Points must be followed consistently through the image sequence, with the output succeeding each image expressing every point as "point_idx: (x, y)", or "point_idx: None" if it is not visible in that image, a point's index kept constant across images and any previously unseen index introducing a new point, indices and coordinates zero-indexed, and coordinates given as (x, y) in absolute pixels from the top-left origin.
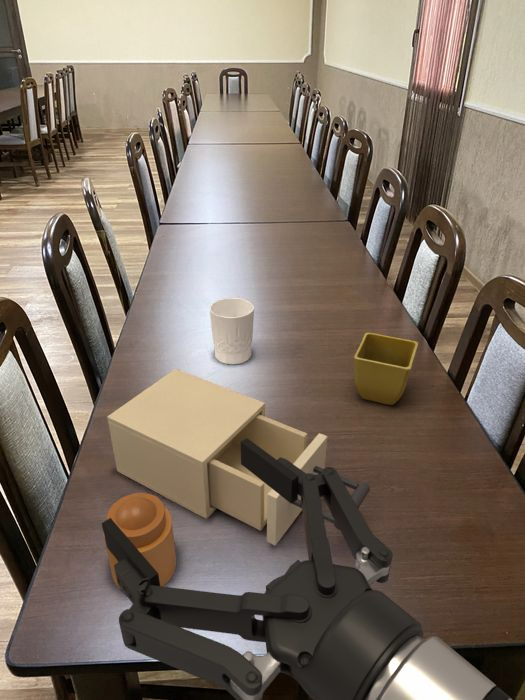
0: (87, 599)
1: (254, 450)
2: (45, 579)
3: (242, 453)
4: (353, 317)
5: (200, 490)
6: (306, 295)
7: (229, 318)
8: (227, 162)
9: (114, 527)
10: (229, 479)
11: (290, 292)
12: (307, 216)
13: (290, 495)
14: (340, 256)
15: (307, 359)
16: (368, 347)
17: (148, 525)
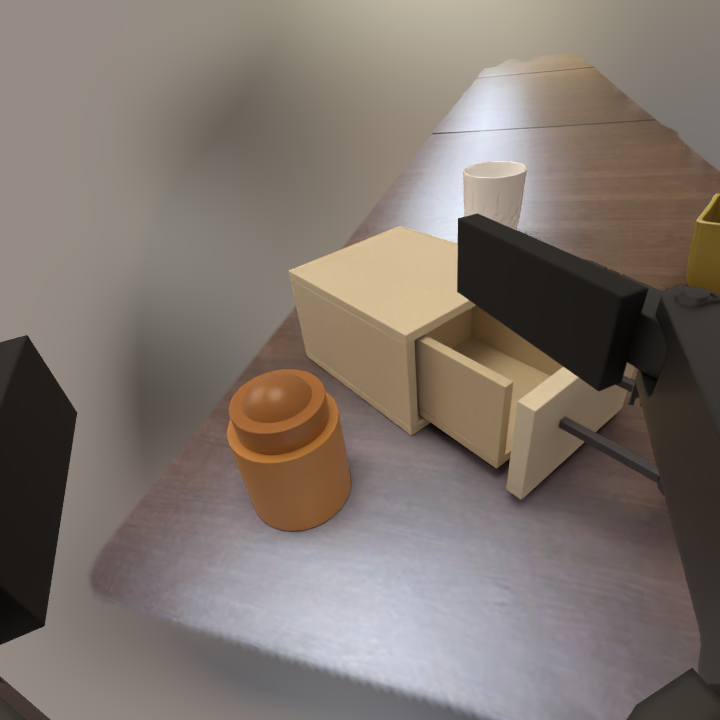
0: (208, 518)
1: (493, 232)
2: (169, 476)
3: (461, 256)
4: (673, 207)
5: (402, 387)
6: (600, 186)
7: (489, 179)
8: (511, 86)
9: (7, 357)
10: (450, 372)
11: (577, 183)
12: (606, 118)
13: (601, 361)
14: (652, 149)
15: (598, 250)
16: (716, 220)
17: (288, 419)
